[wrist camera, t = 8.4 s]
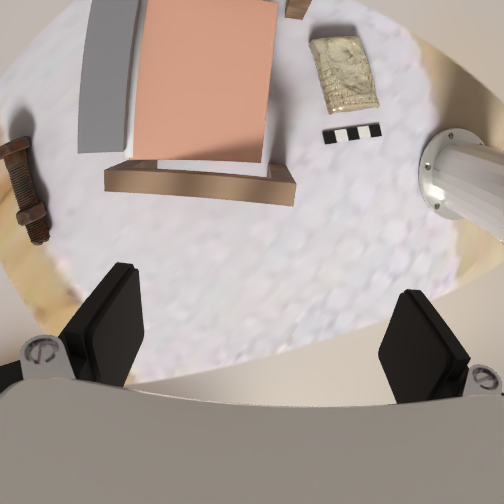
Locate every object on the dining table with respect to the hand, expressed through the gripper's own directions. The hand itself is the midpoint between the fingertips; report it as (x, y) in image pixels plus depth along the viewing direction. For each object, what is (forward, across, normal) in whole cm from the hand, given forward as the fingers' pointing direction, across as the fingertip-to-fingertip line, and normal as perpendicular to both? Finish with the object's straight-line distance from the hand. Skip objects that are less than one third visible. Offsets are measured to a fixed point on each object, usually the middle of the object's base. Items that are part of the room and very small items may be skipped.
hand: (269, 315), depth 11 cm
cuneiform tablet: (+26, -11, -12) cm, 31 cm away
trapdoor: (+22, +9, -10) cm, 26 cm away
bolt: (+29, +32, +4) cm, 43 cm away
